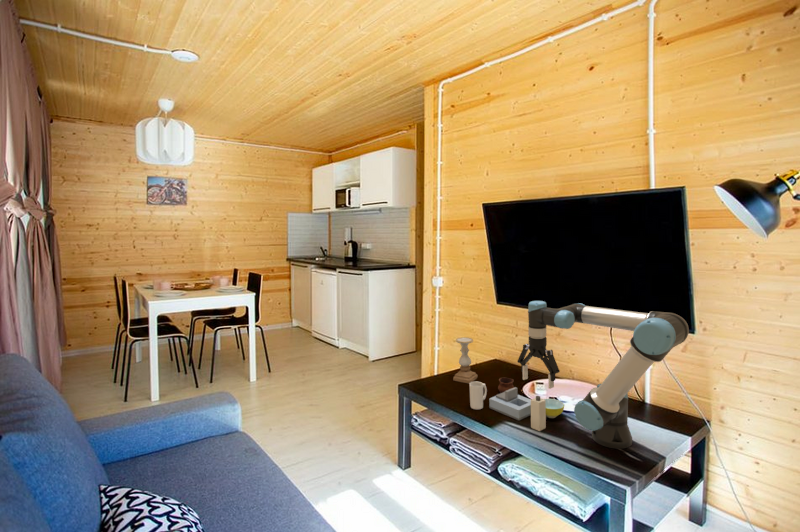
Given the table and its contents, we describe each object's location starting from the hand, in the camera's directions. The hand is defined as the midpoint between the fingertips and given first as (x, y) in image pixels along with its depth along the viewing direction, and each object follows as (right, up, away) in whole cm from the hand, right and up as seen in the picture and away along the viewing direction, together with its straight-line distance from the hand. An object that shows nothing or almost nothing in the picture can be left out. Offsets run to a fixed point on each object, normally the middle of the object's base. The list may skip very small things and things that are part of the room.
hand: (537, 383), depth 194 cm
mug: (-21, -19, +27) cm, 39 cm away
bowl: (+10, -19, +13) cm, 25 cm away
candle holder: (-22, -15, +64) cm, 70 cm away
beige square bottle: (+1, -21, +2) cm, 21 cm away
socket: (-5, -19, +21) cm, 29 cm away
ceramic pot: (-3, -17, +43) cm, 47 cm away
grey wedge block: (-8, -13, +24) cm, 28 cm away
